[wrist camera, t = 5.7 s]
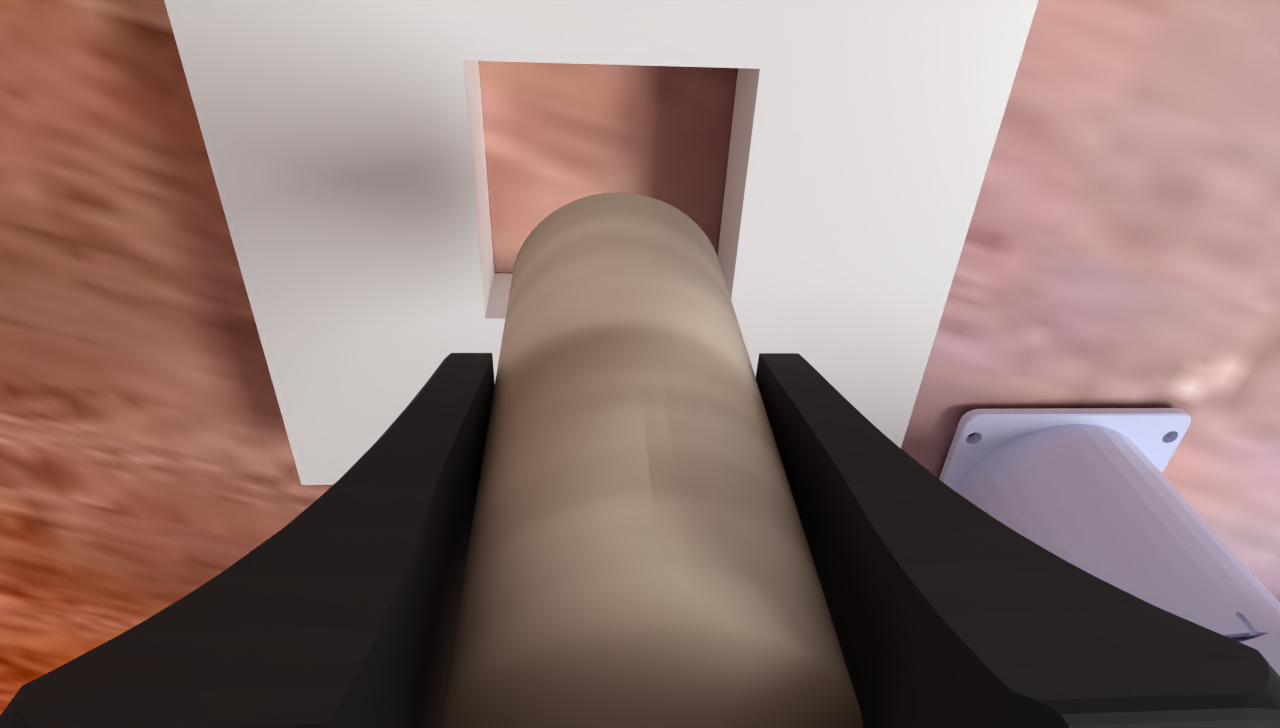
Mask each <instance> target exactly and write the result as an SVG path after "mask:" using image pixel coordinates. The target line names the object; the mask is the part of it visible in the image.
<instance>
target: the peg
mask: <svg viewBox="0 0 1280 728" xmlns="http://www.w3.org/2000/svg"><path fill="white" fill-rule="evenodd" d="M439 728H863V720H862V716H861V711H860V707H859V704H858V701H857V698H856V695H855V692H854V688H853V685H852V682H851V679H850V676H849V672H848V669H847V666H846V663H845V660H844V657H843V653H842V650H841V647H840V644H839V641H838V638H837V634H836V631H835V628H834V625H833V622H832V619H831V615H830V612H829V609H828V606H827V603H826V600H825V596H824V593H823V590H822V587H821V584H820V580H819V577H818V574H817V571H816V568H815V565H814V561H813V558H812V555H811V552H810V549H809V546H808V542H807V539H806V536H805V533H804V530H803V527H802V523H801V520H800V517H799V514H798V511H797V508H796V504H795V501H794V498H793V495H792V492H791V488H790V485H789V482H788V479H787V476H786V473H785V469H784V466H783V463H782V460H781V457H780V454H779V450H778V447H777V444H776V441H775V438H774V435H773V431H772V428H771V425H770V422H769V419H768V416H767V412H766V409H765V406H764V403H763V400H762V396H761V393H760V390H759V387H758V384H757V381H756V377H755V374H754V371H753V368H752V365H751V362H750V358H749V355H748V352H747V349H746V346H745V343H744V339H743V336H742V333H741V330H740V327H739V324H738V320H737V317H736V314H735V311H734V308H733V304H732V301H731V298H730V295H729V292H728V289H727V285H726V282H725V279H724V276H723V273H722V270H721V266H720V263H719V260H718V257H717V255H716V252H715V250H714V248H713V245H712V244H711V242H710V240H709V239H708V237H707V236H706V234H705V233H704V232H703V231H702V229H701V228H700V227H699V226H698V225H697V224H696V223H695V222H694V221H693V220H692V219H691V218H690V217H689V216H687V215H686V214H685V213H683V212H682V211H680V210H679V209H677V208H676V207H674V206H672V205H670V204H668V203H666V202H664V201H661V200H658V199H655V198H652V197H649V196H644V195H639V194H633V193H604V194H598V195H592V196H588V197H585V198H582V199H578V200H576V201H573V202H571V203H569V204H567V205H564V206H563V207H561V208H559V209H558V210H556V211H554V212H553V213H551V214H550V215H549V216H548V217H546V218H545V219H544V220H543V221H541V222H540V223H539V224H538V225H537V227H536V228H535V229H534V230H533V231H532V232H531V233H530V235H529V236H528V238H527V239H526V240H525V242H524V243H523V245H522V247H521V249H520V251H519V253H518V256H517V259H516V262H515V265H514V269H513V275H512V281H511V287H510V293H509V299H508V305H507V312H506V318H505V324H504V330H503V336H502V343H501V349H500V355H499V361H498V367H497V373H496V380H495V386H494V392H493V398H492V405H491V411H490V417H489V423H488V429H487V435H486V442H485V448H484V454H483V460H482V466H481V472H480V479H479V485H478V491H477V497H476V503H475V510H474V516H473V522H472V528H471V534H470V541H469V547H468V553H467V559H466V565H465V571H464V578H463V584H462V590H461V596H460V602H459V609H458V615H457V621H456V627H455V633H454V640H453V646H452V652H451V658H450V664H449V670H448V677H447V683H446V689H445V695H444V701H443V708H442V714H441V720H440V726H439Z"/></svg>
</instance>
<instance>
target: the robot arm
mask: <svg viewBox="0 0 1280 728" xmlns="http://www.w3.org/2000/svg"><path fill="white" fill-rule="evenodd" d="M756 381H757V384H758V387H759V390H760V393H761V396H762V400H763V403H764V406H765V409H766V412H767V416H768V419H769V422H770V425H771V428H772V431H773V435H774V438H775V441H776V444H777V447H778V450H779V454H780V457H781V460H782V463H783V466H784V469H785V473H786V476H787V479H788V482H789V485H790V488H791V492H792V495H793V498H794V501H795V504H796V508H797V511H798V514H799V517H800V520H801V523H802V527H803V530H804V533H805V536H806V539H807V542H808V546H809V549H810V552H811V555H812V558H813V561H814V565H815V568H816V571H817V574H818V577H819V580H820V584H821V587H822V590H823V593H824V596H825V600H826V603H827V606H828V609H829V612H830V615H831V619H832V622H833V625H834V628H835V631H836V634H837V638H838V641H839V644H840V647H841V650H842V653H843V657H844V660H845V663H846V666H847V669H848V672H849V676H850V679H851V682H852V685H853V688H854V692H855V695H856V698H857V701H858V704H859V707H860V711H861V716H862V720H863V728H1280V603H1279V602H1278V601H1277V600H1276V599H1275V598H1274V596H1273V595H1272V594H1271V593H1270V592H1269V591H1268V590H1267V589H1266V588H1265V586H1264V585H1263V584H1262V583H1261V582H1260V581H1259V580H1258V579H1257V578H1256V577H1255V575H1254V574H1253V573H1252V572H1251V571H1250V570H1249V569H1248V568H1247V567H1246V565H1245V564H1244V563H1243V562H1242V561H1241V560H1240V559H1239V558H1238V557H1237V556H1236V554H1235V553H1234V552H1233V551H1232V550H1231V549H1230V548H1229V547H1228V546H1227V544H1226V543H1225V542H1224V541H1223V540H1222V539H1221V538H1220V537H1219V536H1218V535H1217V533H1216V532H1215V531H1214V530H1213V529H1212V528H1211V527H1210V526H1209V525H1208V523H1207V522H1206V521H1205V520H1204V519H1203V518H1202V517H1201V516H1200V515H1199V514H1198V512H1197V511H1196V510H1195V509H1194V508H1193V507H1192V506H1191V505H1190V504H1189V502H1188V501H1187V500H1186V499H1185V498H1184V497H1183V496H1182V495H1181V494H1180V492H1179V491H1178V490H1177V489H1176V488H1175V487H1174V486H1173V485H1172V484H1171V483H1170V481H1169V480H1168V479H1167V478H1166V477H1165V476H1164V475H1163V474H1162V472H1163V471H1164V469H1165V467H1166V465H1167V464H1168V462H1169V460H1170V458H1171V457H1172V455H1173V453H1174V451H1175V450H1176V448H1177V446H1178V444H1179V443H1180V441H1181V439H1182V437H1183V436H1184V434H1185V432H1186V430H1187V429H1188V427H1189V425H1190V422H1191V418H1190V416H1189V415H1188V414H1187V413H1186V412H1185V411H1184V410H1182V409H1180V408H1046V409H974V410H971V411H968V412H967V413H965V414H964V415H963V416H962V417H961V419H960V421H959V424H958V427H957V429H956V432H955V435H954V438H953V441H952V444H951V446H950V449H949V452H948V455H947V458H946V461H945V463H944V466H943V469H942V472H941V475H940V477H939V479H938V478H937V477H935V476H934V475H933V474H931V473H930V472H929V471H928V470H926V469H925V468H924V467H923V466H921V465H920V464H919V463H918V462H917V461H915V460H914V459H913V458H912V457H910V456H909V455H908V454H907V453H905V452H904V451H903V450H902V449H901V448H899V447H898V446H897V445H896V444H895V443H894V442H892V441H891V440H890V439H889V438H888V437H887V436H885V435H884V434H883V433H882V432H881V431H880V430H879V429H878V428H876V427H875V426H874V425H873V424H872V423H871V422H870V421H869V420H868V419H867V418H866V417H864V416H863V415H862V414H861V413H860V412H859V411H858V410H857V409H856V408H855V407H854V406H853V405H852V404H851V403H850V402H848V401H847V400H846V399H845V398H844V397H843V396H842V395H841V394H840V393H839V392H838V391H837V390H836V389H835V388H834V387H833V386H832V385H831V384H830V383H829V382H828V381H827V380H826V379H825V378H824V377H823V376H822V375H821V374H820V373H819V372H818V371H817V370H816V369H815V368H814V367H813V366H812V365H811V364H809V363H808V362H807V361H806V360H805V359H804V358H803V357H802V356H801V355H800V354H799V353H759V359H758V365H757V371H756ZM494 386H495V381H494V369H493V356H492V353H450V354H449V355H448V356H447V357H446V358H445V359H444V360H443V361H442V363H441V364H440V365H439V367H438V368H437V369H436V371H435V372H434V373H433V375H432V376H431V377H430V379H429V380H428V381H427V382H426V384H425V385H424V386H423V387H422V389H421V390H420V391H419V392H418V394H417V395H416V396H415V397H414V399H413V400H412V401H411V402H410V404H409V405H408V406H407V407H406V408H405V410H404V411H403V412H402V413H401V414H400V415H399V416H398V418H397V419H396V420H395V421H394V422H393V423H392V424H391V426H390V427H389V428H388V429H387V430H386V431H385V432H384V434H383V435H382V436H381V437H380V438H379V439H378V440H377V441H376V442H375V444H374V445H373V446H372V447H371V448H370V449H369V450H368V451H367V452H366V453H365V454H364V455H363V456H362V457H361V458H360V459H359V460H358V461H357V462H356V463H355V464H354V465H353V466H352V467H351V468H350V469H349V470H348V471H347V472H346V473H345V474H344V475H343V476H342V477H341V478H340V479H339V480H338V481H337V482H336V483H335V484H334V485H333V486H332V487H330V488H329V489H328V490H327V491H326V492H325V493H324V494H323V495H322V496H321V497H319V498H318V499H317V500H316V501H315V502H314V503H313V504H312V505H310V506H309V507H308V508H307V509H306V510H304V511H303V512H302V513H301V514H300V515H299V516H297V517H296V518H295V519H294V520H293V521H292V522H290V523H289V524H288V525H287V526H285V527H284V528H283V529H281V530H280V531H279V532H277V533H276V534H275V535H273V536H272V537H271V538H269V539H268V540H266V541H265V542H264V543H262V544H261V545H260V546H258V547H257V548H255V549H254V550H253V551H251V552H250V553H249V554H247V555H246V556H244V557H243V558H242V559H240V560H239V561H237V562H236V563H235V564H233V565H232V566H231V567H229V568H228V569H226V570H225V571H224V572H222V573H221V574H219V575H218V576H216V577H215V578H213V579H211V580H210V581H208V582H207V583H205V584H204V585H202V586H201V587H199V588H198V589H196V590H194V591H193V592H191V593H190V594H188V595H187V596H185V597H183V598H182V599H180V600H179V601H177V602H175V603H174V604H172V605H170V606H169V607H167V608H165V609H164V610H162V611H160V612H159V613H157V614H155V615H154V616H152V617H150V618H149V619H147V620H145V621H144V622H142V623H140V624H138V625H137V626H135V627H133V628H131V629H130V630H128V631H126V632H124V633H123V634H121V635H119V636H117V637H115V638H113V639H111V640H109V641H108V642H106V643H104V644H102V645H100V646H98V647H96V648H94V649H93V650H91V651H89V652H87V653H85V654H83V655H81V656H79V657H77V658H76V659H74V660H72V661H70V662H68V663H66V664H64V665H62V666H61V667H59V668H57V669H55V670H53V671H51V672H49V673H47V674H45V675H43V676H41V677H39V678H37V679H35V680H33V681H31V682H29V683H27V684H25V685H23V686H22V687H21V688H20V690H19V691H18V692H17V694H16V695H15V696H14V698H13V699H12V700H11V702H10V703H9V704H8V706H7V707H6V708H5V710H4V711H3V713H2V714H1V715H0V728H439V726H440V720H441V714H442V708H443V701H444V695H445V689H446V683H447V677H448V670H449V664H450V658H451V652H452V646H453V640H454V633H455V627H456V621H457V615H458V609H459V602H460V596H461V590H462V584H463V578H464V571H465V565H466V559H467V553H468V547H469V541H470V534H471V528H472V522H473V516H474V510H475V503H476V497H477V491H478V485H479V479H480V472H481V466H482V460H483V454H484V448H485V442H486V435H487V429H488V423H489V417H490V411H491V405H492V398H493V392H494ZM972 433H975V434H974V435H972V436H970V437H968V436H969V435H970V434H972Z"/></svg>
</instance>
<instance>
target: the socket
mask: <svg viewBox="0 0 1280 728" xmlns="http://www.w3.org/2000/svg"><path fill="white" fill-rule="evenodd" d="M164 1H165V5H166V9H167V12H168V16H169V19H170V23H171V26H172V30H173V33H174V37H175V40H176V44H177V47H178V51H179V54H180V58H181V61H182V65H183V69H184V72H185V76H186V79H187V83H188V86H189V90H190V93H191V97H192V100H193V104H194V107H195V111H196V114H197V118H198V121H199V125H200V128H201V132H202V136H203V139H204V143H205V146H206V150H207V153H208V157H209V160H210V164H211V167H212V171H213V174H214V178H215V181H216V185H217V188H218V192H219V196H220V199H221V203H222V206H223V210H224V213H225V217H226V220H227V224H228V227H229V231H230V234H231V238H232V241H233V245H234V248H235V252H236V256H237V259H238V263H239V266H240V270H241V273H242V277H243V280H244V284H245V287H246V291H247V294H248V298H249V301H250V305H251V308H252V312H253V316H254V319H255V323H256V326H257V330H258V333H259V337H260V340H261V344H262V347H263V351H264V354H265V358H266V361H267V365H268V368H269V372H270V376H271V379H272V383H273V386H274V390H275V393H276V397H277V400H278V404H279V407H280V411H281V414H282V418H283V421H284V425H285V428H286V432H287V436H288V439H289V443H290V446H291V450H292V453H293V457H294V460H295V464H296V467H297V471H298V474H299V478H300V481H301V485H334V484H335V483H336V482H337V481H338V480H339V479H340V478H341V477H342V476H343V475H344V474H345V473H346V472H347V471H348V470H349V469H350V468H351V467H352V466H353V465H354V464H355V463H356V462H357V461H358V460H359V459H360V458H361V457H362V456H363V455H364V454H365V453H366V452H367V451H368V450H369V449H370V448H371V447H372V446H373V445H374V444H375V442H376V441H377V440H378V439H379V438H380V437H381V436H382V435H383V434H384V432H385V431H386V430H387V429H388V428H389V427H390V426H391V424H392V423H393V422H394V421H395V420H396V419H397V418H398V416H399V415H400V414H401V413H402V412H403V411H404V410H405V408H406V407H407V406H408V405H409V404H410V402H411V401H412V400H413V399H414V397H415V396H416V395H417V394H418V392H419V391H420V390H421V389H422V387H423V386H424V385H425V384H426V382H427V381H428V380H429V379H430V377H431V376H432V375H433V373H434V372H435V371H436V369H437V368H438V367H439V365H440V364H441V363H442V361H443V360H444V359H445V358H446V357H447V356H448V355H449V354H450V353H492V356H493V369H494V381H495V380H496V373H497V367H498V361H499V355H500V349H501V343H502V336H503V330H504V324H505V318H506V312H507V305H508V299H509V293H510V287H511V281H512V275H513V273H494V263H493V250H492V236H491V223H490V209H489V196H488V182H487V169H486V155H485V142H484V129H483V115H482V102H481V88H480V75H479V61H504V62H539V63H574V64H609V65H644V66H680V67H715V68H738V73H737V82H736V92H735V101H734V110H733V119H732V128H731V137H730V147H729V156H728V165H727V174H726V183H725V192H724V202H723V211H722V220H721V229H720V238H719V247H718V260H719V263H720V266H721V270H722V273H723V276H724V279H725V282H726V285H727V289H728V292H729V295H730V298H731V301H732V304H733V308H734V311H735V314H736V317H737V320H738V324H739V327H740V330H741V333H742V336H743V339H744V343H745V346H746V349H747V352H748V355H749V358H750V362H751V365H752V368H753V371H754V374H755V377H756V371H757V365H758V359H759V353H799V354H800V355H801V356H802V357H803V358H804V359H805V360H806V361H807V362H808V363H809V364H811V365H812V366H813V367H814V368H815V369H816V370H817V371H818V372H819V373H820V374H821V375H822V376H823V377H824V378H825V379H826V380H827V381H828V382H829V383H830V384H831V385H832V386H833V387H834V388H835V389H836V390H837V391H838V392H839V393H840V394H841V395H842V396H843V397H844V398H845V399H846V400H847V401H848V402H850V403H851V404H852V405H853V406H854V407H855V408H856V409H857V410H858V411H859V412H860V413H861V414H862V415H863V416H864V417H866V418H867V419H868V420H869V421H870V422H871V423H872V424H873V425H874V426H875V427H876V428H878V429H879V430H880V431H881V432H882V433H883V434H884V435H885V436H887V437H888V438H889V439H890V440H891V441H892V442H894V443H895V444H896V445H897V446H898V447H899V448H901V446H902V443H903V440H904V437H905V433H906V430H907V427H908V424H909V420H910V417H911V414H912V411H913V407H914V404H915V401H916V398H917V394H918V391H919V388H920V385H921V381H922V378H923V375H924V371H925V368H926V365H927V362H928V358H929V355H930V352H931V349H932V345H933V342H934V339H935V336H936V332H937V329H938V326H939V323H940V319H941V316H942V313H943V310H944V306H945V303H946V300H947V297H948V293H949V290H950V287H951V284H952V280H953V277H954V274H955V270H956V267H957V264H958V261H959V257H960V254H961V251H962V248H963V244H964V241H965V238H966V235H967V231H968V228H969V225H970V222H971V218H972V215H973V212H974V209H975V205H976V202H977V199H978V196H979V192H980V189H981V186H982V183H983V179H984V176H985V173H986V169H987V166H988V163H989V160H990V156H991V153H992V150H993V147H994V143H995V140H996V137H997V134H998V130H999V127H1000V124H1001V121H1002V117H1003V114H1004V111H1005V108H1006V104H1007V101H1008V98H1009V95H1010V91H1011V88H1012V85H1013V81H1014V78H1015V75H1016V72H1017V68H1018V65H1019V62H1020V59H1021V55H1022V52H1023V49H1024V46H1025V42H1026V39H1027V36H1028V33H1029V29H1030V26H1031V23H1032V20H1033V16H1034V13H1035V10H1036V7H1037V3H1038V0H164Z"/></svg>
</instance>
